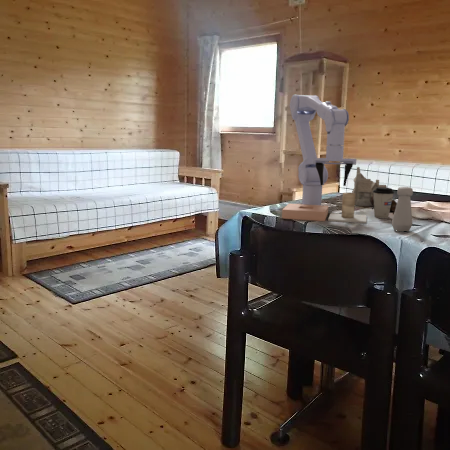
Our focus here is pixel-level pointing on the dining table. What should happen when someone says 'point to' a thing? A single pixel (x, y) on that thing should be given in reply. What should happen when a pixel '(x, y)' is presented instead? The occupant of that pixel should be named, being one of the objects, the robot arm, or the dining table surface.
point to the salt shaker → (403, 210)
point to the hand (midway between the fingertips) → (333, 185)
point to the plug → (348, 205)
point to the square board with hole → (305, 212)
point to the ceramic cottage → (364, 189)
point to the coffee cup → (382, 201)
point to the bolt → (393, 204)
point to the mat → (340, 219)
